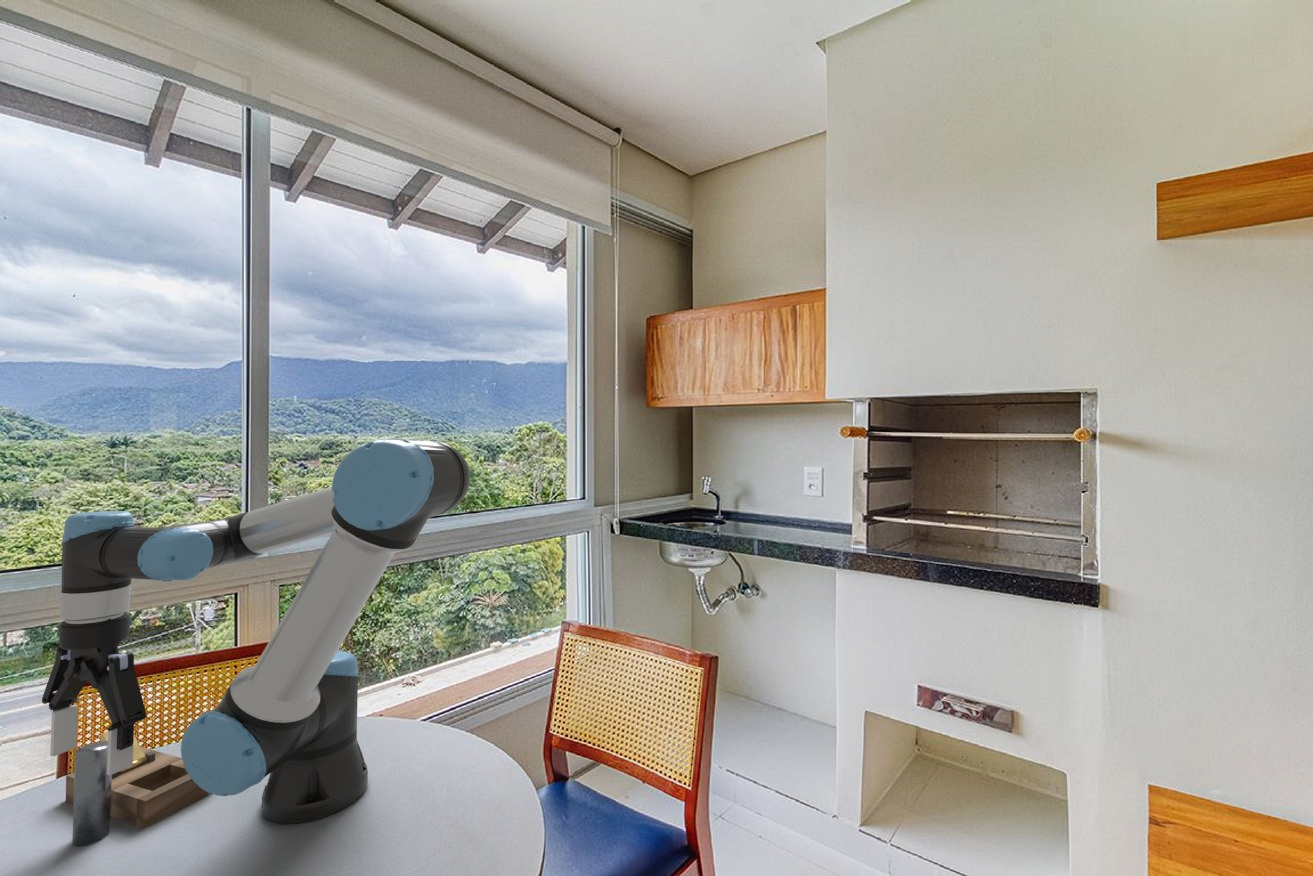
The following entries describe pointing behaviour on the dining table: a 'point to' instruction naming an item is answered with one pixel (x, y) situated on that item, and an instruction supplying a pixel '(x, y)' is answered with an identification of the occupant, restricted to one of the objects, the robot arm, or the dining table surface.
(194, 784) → the block
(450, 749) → the dining table surface
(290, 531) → the robot arm
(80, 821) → the peg
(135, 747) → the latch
